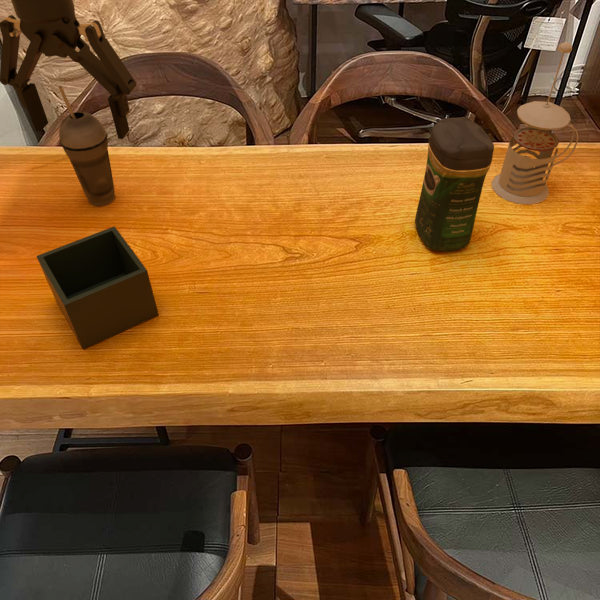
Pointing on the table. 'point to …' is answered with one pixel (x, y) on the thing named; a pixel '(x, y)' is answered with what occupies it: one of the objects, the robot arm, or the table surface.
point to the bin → (99, 286)
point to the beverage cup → (88, 154)
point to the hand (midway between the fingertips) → (82, 130)
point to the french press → (520, 169)
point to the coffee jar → (453, 183)
